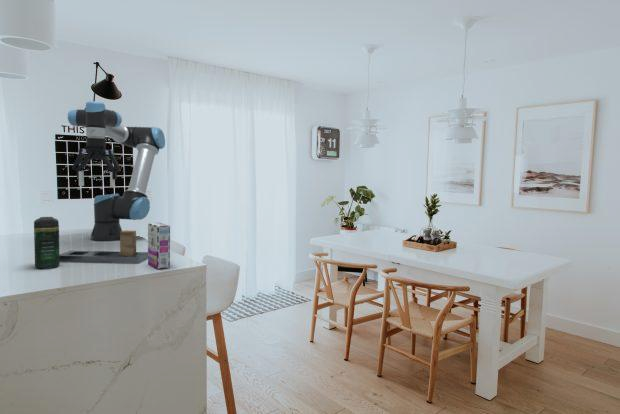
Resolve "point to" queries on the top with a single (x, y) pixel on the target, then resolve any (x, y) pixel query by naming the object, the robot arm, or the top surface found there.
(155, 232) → the candy bar box
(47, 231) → the coffee jar
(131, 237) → the walnut peg
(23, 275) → the top surface
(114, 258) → the grey metal hole board
